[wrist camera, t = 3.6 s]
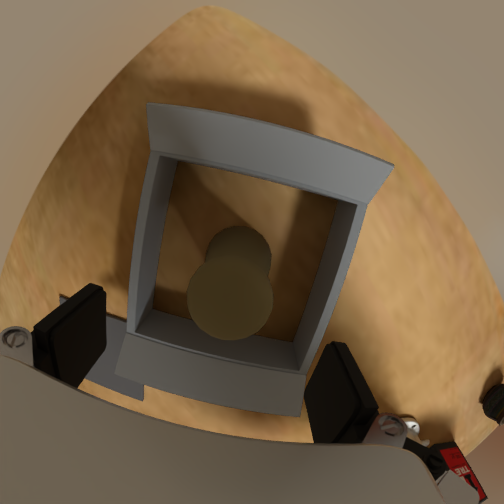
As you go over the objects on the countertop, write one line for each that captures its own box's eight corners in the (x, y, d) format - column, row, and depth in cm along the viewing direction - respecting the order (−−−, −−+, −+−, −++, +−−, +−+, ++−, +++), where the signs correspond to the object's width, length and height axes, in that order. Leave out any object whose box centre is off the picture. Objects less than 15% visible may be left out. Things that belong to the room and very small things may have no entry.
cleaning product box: (433, 444, 34) (468, 509, 15) (454, 441, 35) (487, 498, 16) (385, 485, 38) (406, 546, 19) (409, 481, 39) (431, 536, 19)
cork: (285, 260, 25) (305, 313, 15) (237, 301, 26) (227, 372, 16) (239, 212, 24) (227, 232, 14) (193, 256, 25) (152, 306, 15)
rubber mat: (146, 327, 27) (145, 329, 27) (143, 399, 30) (142, 401, 30) (61, 295, 27) (59, 297, 26) (69, 368, 29) (68, 370, 29)
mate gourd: (481, 411, 33) (501, 438, 23) (475, 400, 32) (499, 430, 22) (503, 387, 32) (526, 412, 22) (500, 373, 30) (526, 400, 21)
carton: (354, 169, 23) (394, 164, 15) (290, 367, 28) (299, 418, 20) (178, 124, 22) (147, 101, 15) (143, 332, 27) (114, 375, 20)
